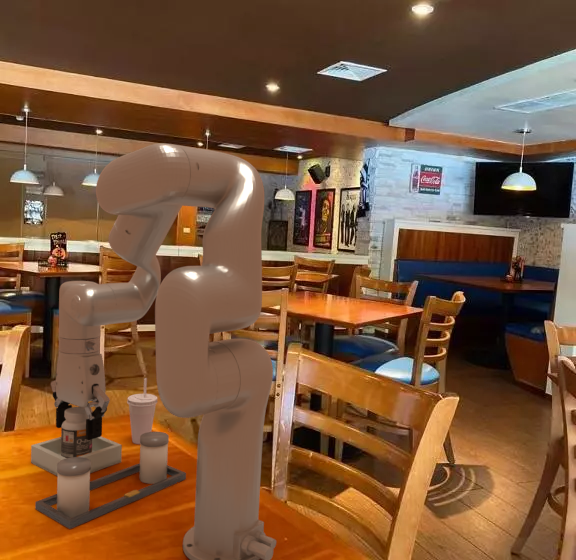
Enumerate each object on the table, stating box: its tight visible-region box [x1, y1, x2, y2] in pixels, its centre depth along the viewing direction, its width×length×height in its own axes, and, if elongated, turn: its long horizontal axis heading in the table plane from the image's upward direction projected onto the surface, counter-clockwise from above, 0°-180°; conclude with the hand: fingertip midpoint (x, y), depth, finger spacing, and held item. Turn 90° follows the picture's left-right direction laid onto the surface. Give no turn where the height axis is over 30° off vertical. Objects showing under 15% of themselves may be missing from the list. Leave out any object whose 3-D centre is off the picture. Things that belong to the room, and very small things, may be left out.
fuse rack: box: [34, 462, 187, 530], centre depth 104 cm, size 10×25×1 cm, turn 144°
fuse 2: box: [138, 431, 170, 485], centre depth 111 cm, size 5×5×8 cm
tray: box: [30, 436, 123, 477], centre depth 116 cm, size 12×12×4 cm
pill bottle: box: [60, 406, 92, 458], centre depth 115 cm, size 6×6×10 cm
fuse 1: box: [56, 457, 91, 518], centre depth 97 cm, size 5×5×8 cm
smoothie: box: [126, 377, 158, 445], centre depth 128 cm, size 6×6×14 cm
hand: (78, 431), depth 115 cm, fingers open, 9 cm apart
